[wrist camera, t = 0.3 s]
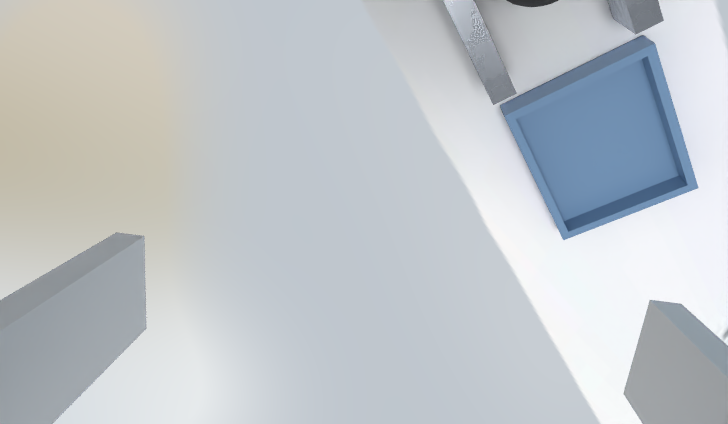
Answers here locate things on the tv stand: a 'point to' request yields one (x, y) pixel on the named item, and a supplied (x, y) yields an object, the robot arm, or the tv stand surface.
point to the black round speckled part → (532, 2)
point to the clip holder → (628, 7)
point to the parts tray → (603, 139)
